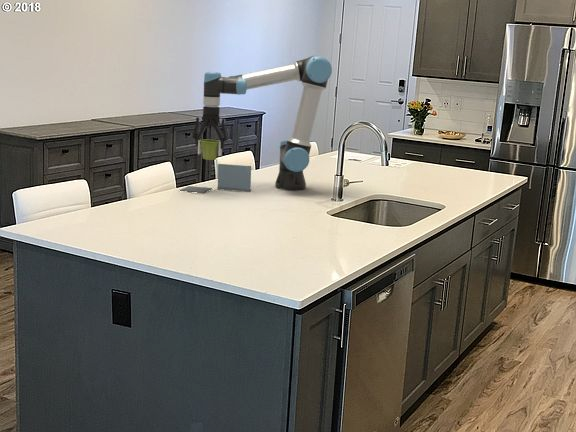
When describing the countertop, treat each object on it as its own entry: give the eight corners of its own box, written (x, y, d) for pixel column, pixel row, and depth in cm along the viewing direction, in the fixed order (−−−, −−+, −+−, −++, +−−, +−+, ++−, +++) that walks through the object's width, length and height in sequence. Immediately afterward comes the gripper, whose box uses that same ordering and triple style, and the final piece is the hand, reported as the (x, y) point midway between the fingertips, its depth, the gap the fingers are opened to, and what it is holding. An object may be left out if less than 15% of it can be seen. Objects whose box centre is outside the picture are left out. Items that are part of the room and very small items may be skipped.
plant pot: (221, 158, 362) (222, 140, 360) (217, 161, 353) (218, 142, 351) (201, 157, 362) (202, 138, 361) (197, 159, 353) (198, 141, 351)
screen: (251, 190, 366) (251, 165, 364) (249, 191, 363) (249, 166, 361) (219, 188, 370) (219, 163, 368) (217, 189, 367) (217, 164, 365)
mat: (212, 189, 367) (212, 188, 367) (203, 193, 356) (203, 192, 355) (188, 187, 370) (188, 186, 370) (179, 191, 358) (179, 190, 358)
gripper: (236, 107, 354) (234, 155, 358) (191, 104, 358) (190, 151, 363) (231, 108, 346) (229, 157, 351) (185, 104, 351) (184, 153, 356)
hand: (209, 154), depth 357 cm, fingers closed on plant pot, 9 cm apart
